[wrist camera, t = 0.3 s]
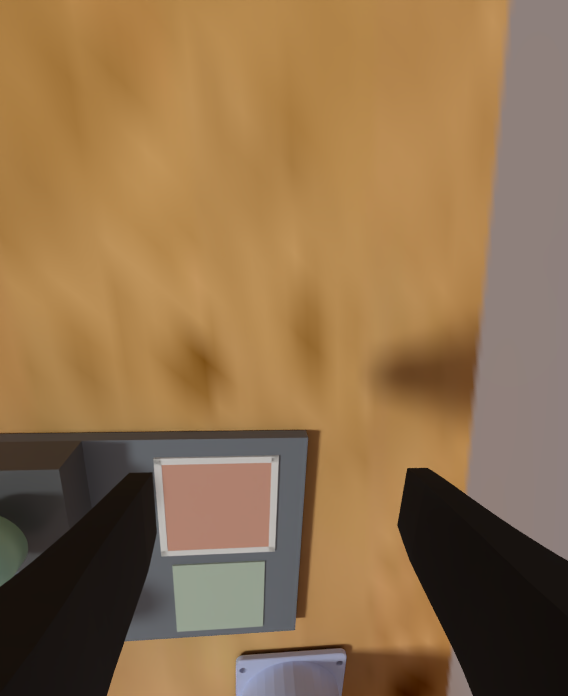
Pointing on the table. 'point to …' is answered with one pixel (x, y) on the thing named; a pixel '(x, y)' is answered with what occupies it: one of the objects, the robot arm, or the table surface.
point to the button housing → (43, 490)
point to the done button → (11, 549)
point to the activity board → (209, 525)
